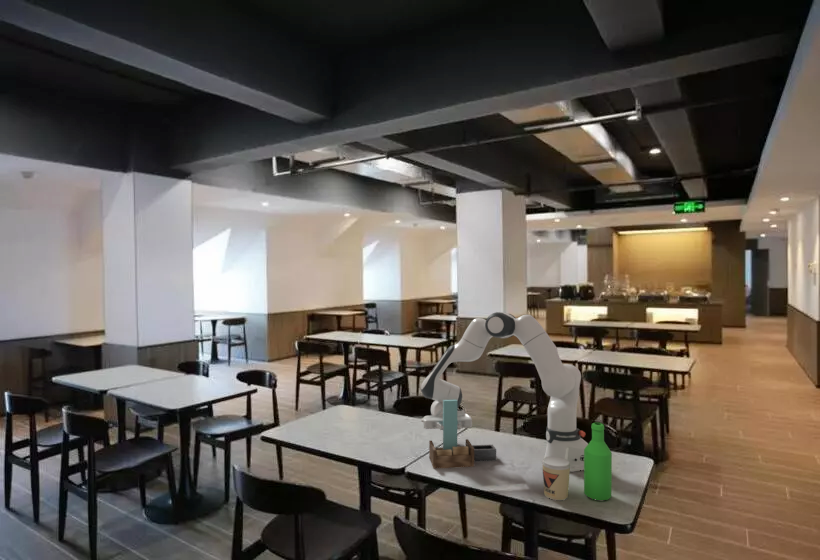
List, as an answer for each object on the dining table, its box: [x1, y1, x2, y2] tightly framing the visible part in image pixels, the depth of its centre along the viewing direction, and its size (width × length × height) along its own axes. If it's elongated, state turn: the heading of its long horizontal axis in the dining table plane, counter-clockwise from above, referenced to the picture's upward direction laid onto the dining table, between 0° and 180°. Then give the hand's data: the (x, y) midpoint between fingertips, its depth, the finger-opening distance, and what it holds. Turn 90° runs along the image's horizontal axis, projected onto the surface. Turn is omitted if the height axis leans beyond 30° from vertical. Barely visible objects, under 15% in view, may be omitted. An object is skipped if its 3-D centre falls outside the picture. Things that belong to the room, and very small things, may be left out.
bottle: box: [583, 422, 613, 501], centre depth 168 cm, size 9×9×25 cm
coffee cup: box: [541, 456, 571, 501], centre depth 169 cm, size 9×9×12 cm
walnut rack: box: [428, 438, 475, 470], centre depth 195 cm, size 16×11×8 cm
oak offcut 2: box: [453, 445, 468, 455], centre depth 193 cm, size 6×2×6 cm, turn 96°
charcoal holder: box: [471, 444, 497, 463], centre depth 199 cm, size 10×6×6 cm, turn 96°
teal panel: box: [442, 400, 458, 451], centre depth 197 cm, size 6×2×24 cm, turn 96°
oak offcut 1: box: [436, 449, 452, 456], centre depth 193 cm, size 6×2×6 cm, turn 96°
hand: (450, 427), depth 196 cm, fingers closed on teal panel, 5 cm apart
